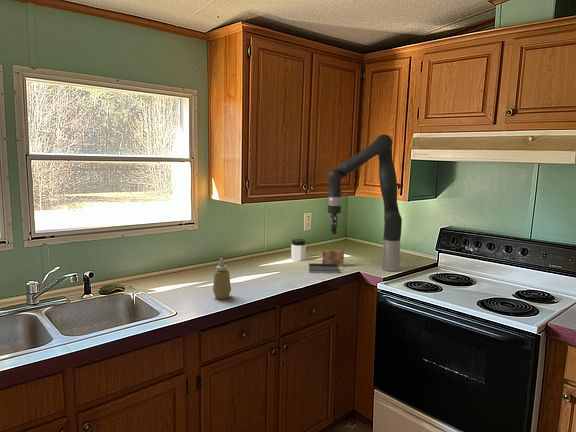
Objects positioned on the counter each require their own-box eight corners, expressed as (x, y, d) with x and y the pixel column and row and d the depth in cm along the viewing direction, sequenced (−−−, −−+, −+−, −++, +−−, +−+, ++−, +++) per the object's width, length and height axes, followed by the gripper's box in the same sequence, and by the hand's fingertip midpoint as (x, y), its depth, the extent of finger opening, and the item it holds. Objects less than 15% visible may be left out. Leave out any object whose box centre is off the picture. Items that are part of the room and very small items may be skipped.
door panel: (342, 265, 248) (343, 250, 247) (343, 266, 245) (343, 251, 244) (322, 265, 249) (322, 250, 247) (322, 266, 246) (322, 251, 244)
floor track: (337, 268, 240) (337, 263, 240) (338, 273, 231) (338, 267, 231) (308, 268, 241) (308, 262, 240) (309, 272, 232) (309, 267, 231)
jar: (289, 257, 264) (290, 238, 262) (302, 257, 267) (302, 238, 265) (294, 261, 256) (294, 241, 254) (307, 260, 258) (307, 241, 256)
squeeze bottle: (232, 294, 196) (231, 256, 194) (230, 300, 188) (229, 260, 186) (214, 294, 196) (213, 256, 193) (211, 300, 188) (211, 260, 185)
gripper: (342, 206, 234) (341, 235, 237) (340, 203, 248) (339, 230, 251) (328, 206, 235) (327, 234, 237) (327, 202, 249) (326, 230, 251)
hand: (333, 232), depth 244 cm, fingers open, 8 cm apart
